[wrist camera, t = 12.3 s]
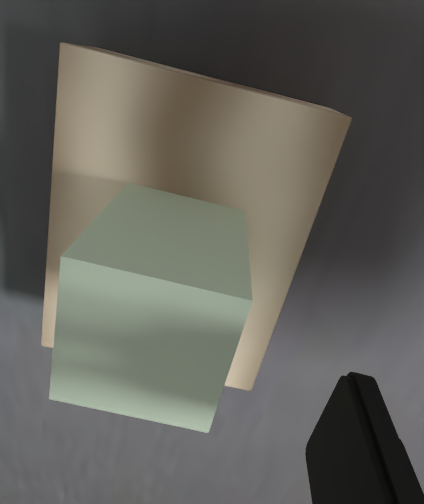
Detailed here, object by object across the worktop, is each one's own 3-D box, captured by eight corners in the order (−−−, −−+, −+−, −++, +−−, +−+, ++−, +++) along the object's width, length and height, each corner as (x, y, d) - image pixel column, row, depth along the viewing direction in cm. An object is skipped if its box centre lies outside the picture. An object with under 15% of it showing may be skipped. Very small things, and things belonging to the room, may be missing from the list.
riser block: (329, 107, 18) (352, 118, 15) (248, 342, 24) (250, 390, 21) (95, 47, 18) (60, 42, 14) (70, 302, 24) (41, 345, 20)
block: (245, 211, 17) (252, 300, 10) (217, 308, 19) (208, 432, 12) (128, 182, 16) (60, 255, 10) (112, 284, 18) (49, 398, 12)
